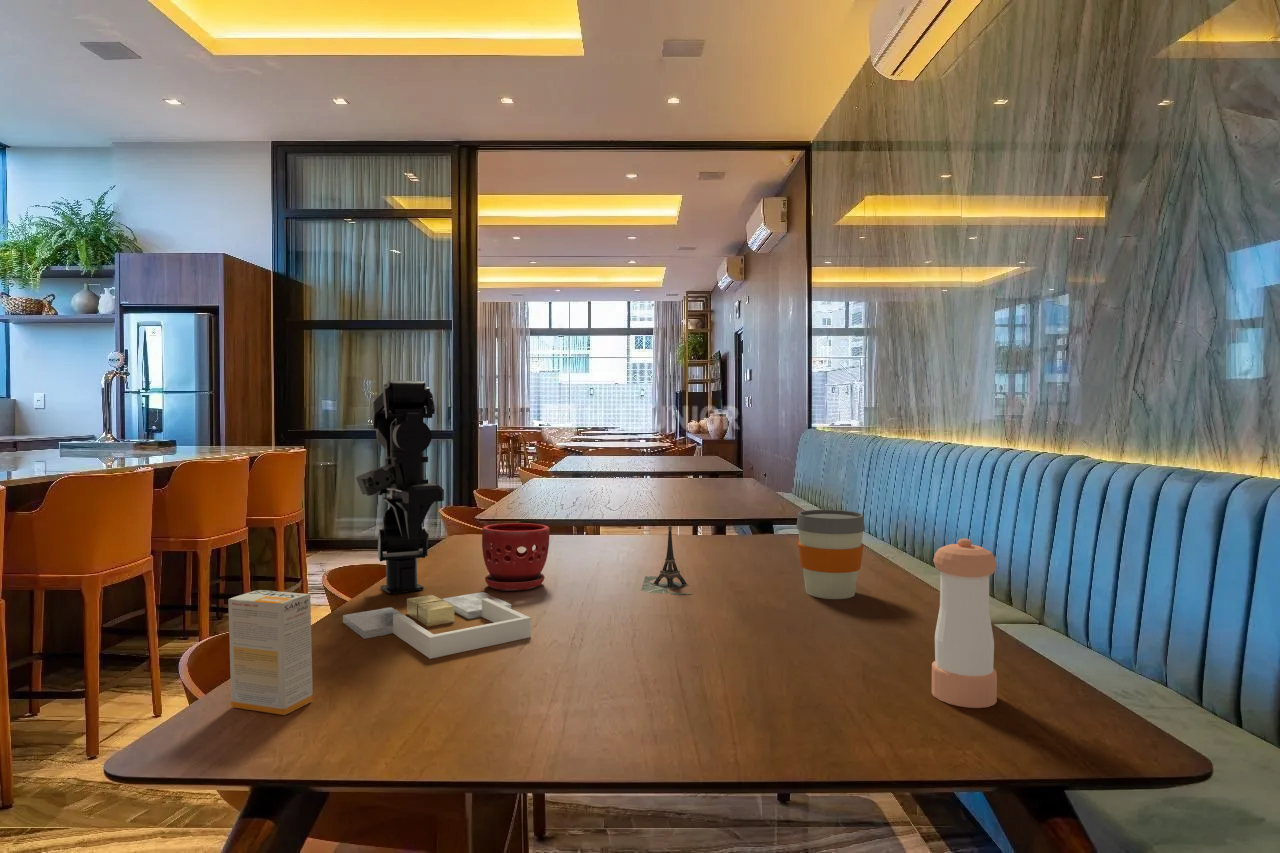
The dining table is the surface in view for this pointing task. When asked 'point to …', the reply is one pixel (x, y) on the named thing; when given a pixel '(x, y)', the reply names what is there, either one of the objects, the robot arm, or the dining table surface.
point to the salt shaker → (964, 627)
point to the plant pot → (515, 555)
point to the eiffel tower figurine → (665, 574)
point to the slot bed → (382, 619)
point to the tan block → (414, 602)
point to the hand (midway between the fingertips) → (408, 538)
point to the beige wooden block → (435, 613)
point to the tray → (466, 632)
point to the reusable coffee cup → (830, 551)
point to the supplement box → (270, 651)
